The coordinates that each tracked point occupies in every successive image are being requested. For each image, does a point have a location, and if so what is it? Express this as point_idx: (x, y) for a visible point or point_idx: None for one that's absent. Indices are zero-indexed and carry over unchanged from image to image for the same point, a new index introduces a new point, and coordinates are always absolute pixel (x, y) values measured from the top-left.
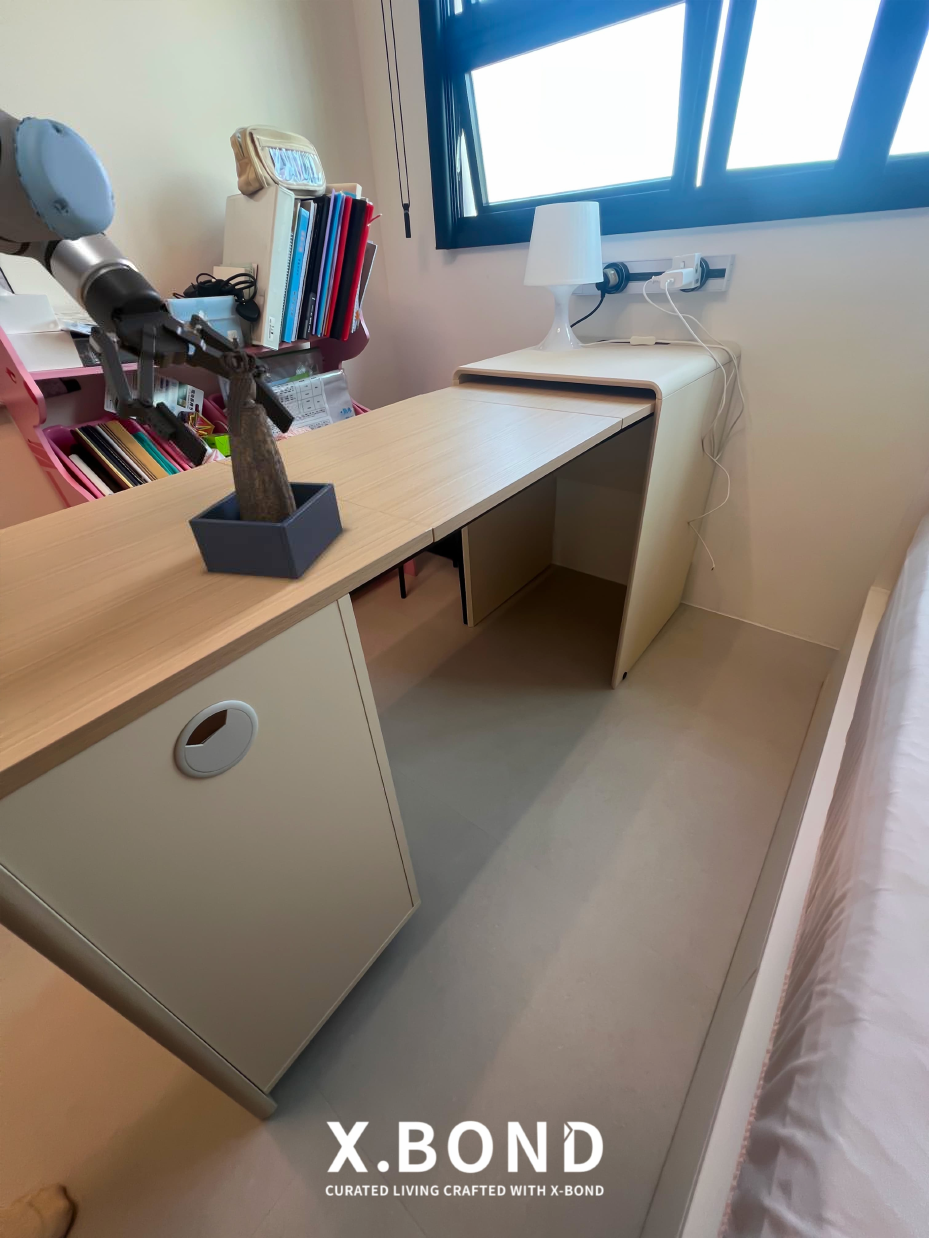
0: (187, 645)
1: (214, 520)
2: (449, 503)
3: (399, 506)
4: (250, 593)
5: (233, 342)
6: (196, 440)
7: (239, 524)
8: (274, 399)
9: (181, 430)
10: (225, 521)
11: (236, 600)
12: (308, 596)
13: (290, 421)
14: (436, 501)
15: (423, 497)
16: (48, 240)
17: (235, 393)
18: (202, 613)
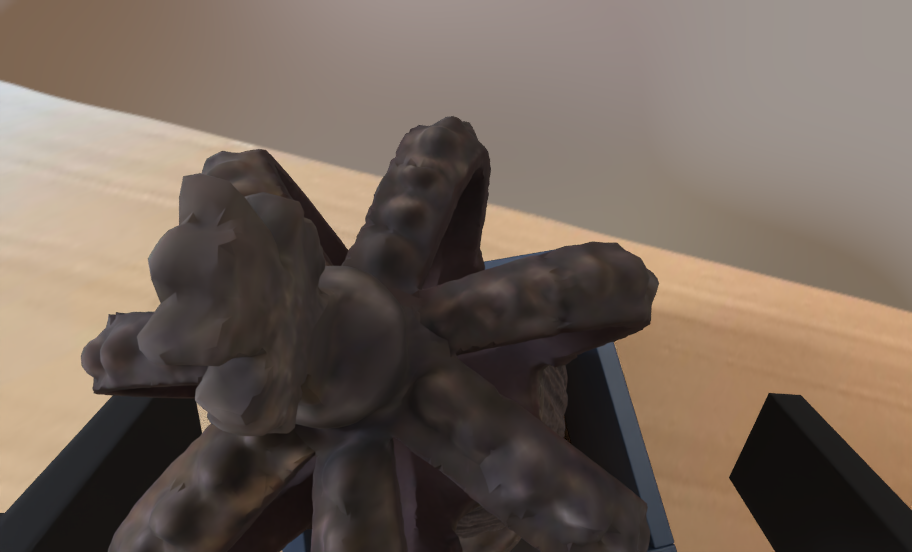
0: (801, 334)
1: (642, 474)
2: (73, 154)
3: (110, 270)
4: (630, 350)
5: (279, 357)
6: (818, 439)
7: (623, 376)
8: (73, 475)
9: (907, 507)
10: (632, 430)
11: (663, 359)
12: (587, 232)
13: None
14: (61, 190)
15: (32, 235)
16: None
17: (549, 380)
18: (728, 391)
